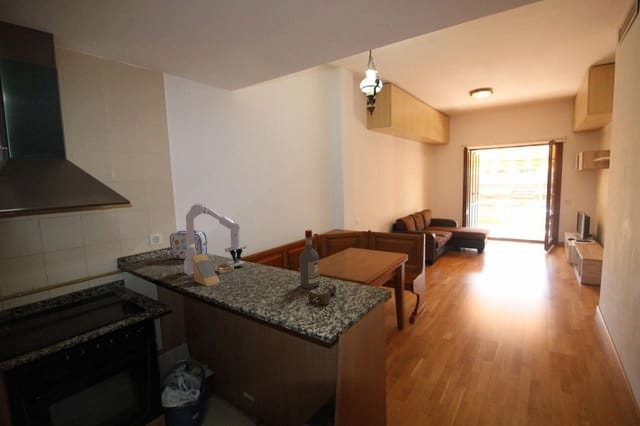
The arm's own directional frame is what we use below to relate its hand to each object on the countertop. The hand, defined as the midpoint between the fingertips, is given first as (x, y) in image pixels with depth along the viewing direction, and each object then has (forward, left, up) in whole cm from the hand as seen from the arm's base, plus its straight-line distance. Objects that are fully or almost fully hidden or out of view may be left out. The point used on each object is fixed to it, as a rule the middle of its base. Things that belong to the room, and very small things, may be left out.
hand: (236, 260), depth 206 cm
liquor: (+63, +11, -4) cm, 64 cm away
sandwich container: (+15, -26, -4) cm, 31 cm away
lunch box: (-46, -14, -4) cm, 48 cm away
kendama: (+82, +2, -5) cm, 83 cm away
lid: (0, 0, -2) cm, 2 cm away
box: (+3, -10, -4) cm, 11 cm away
